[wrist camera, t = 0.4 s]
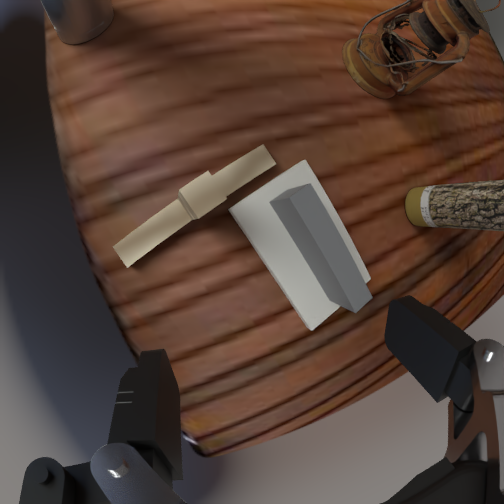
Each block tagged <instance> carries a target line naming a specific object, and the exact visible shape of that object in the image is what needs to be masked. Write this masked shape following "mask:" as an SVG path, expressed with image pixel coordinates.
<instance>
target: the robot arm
mask: <svg viewBox="0 0 504 504" xmlns="http://www.w3.org/2000/svg"><path fill="white" fill-rule="evenodd" d="M41 2H42V4H43V6H44V8H45V10H46V12H47V14H48V16H49V18H50V20H51V22H52V24H53V26H54V28H55V30H56V32H57V34H58V36H59V38H60V39H61V41H63V42H64V43H67V44H79V43H83V42H86V41H89V40H91V39H93V38H95V37H96V36H98V35H99V34H101V33H102V32H103V31H104V30H105V29H106V28H107V27H108V26H109V25H110V23H111V22H112V19H113V16H114V12H113V7H112V2H111V0H41ZM385 342H386V345H387V347H388V349H389V350H390V351H391V352H392V353H393V354H394V356H395V357H396V358H397V359H398V360H399V361H400V362H401V363H402V364H403V365H404V366H405V367H406V369H407V370H408V371H409V372H410V373H411V374H412V375H413V376H414V377H415V378H416V379H417V381H418V382H419V383H420V384H421V385H422V386H423V387H424V388H425V390H426V391H427V392H428V393H429V394H430V395H431V396H432V397H433V399H434V400H435V401H436V402H437V403H438V402H440V401H441V400H443V399H445V398H446V397H448V396H449V397H450V398H451V400H450V402H449V405H448V447H447V451H446V453H445V456H444V458H443V459H442V460H441V461H439V462H438V463H436V464H435V465H433V466H431V467H430V468H428V469H427V470H425V471H423V472H422V473H420V474H418V475H417V476H416V477H415V478H413V479H412V480H411V481H410V482H409V483H408V484H407V485H406V486H404V487H403V488H402V489H401V490H400V491H399V492H397V493H396V494H395V495H394V496H393V497H391V498H390V499H389V500H388V501H386V502H384V503H381V504H504V346H503V345H502V344H500V343H499V342H497V341H495V340H492V339H481V340H479V341H477V342H476V341H475V340H474V339H472V338H471V337H470V336H468V335H467V334H466V333H465V332H464V331H462V330H461V329H460V328H459V327H457V326H456V325H455V324H453V323H450V321H449V320H448V319H447V318H445V317H443V315H442V314H440V313H439V312H438V311H436V310H435V309H433V308H431V307H428V306H426V305H423V304H422V303H420V302H419V301H418V300H416V299H415V298H414V297H412V296H410V295H408V296H404V297H401V298H398V299H395V300H392V301H391V302H390V305H389V310H388V317H387V323H386V329H385ZM172 480H183V471H182V453H181V425H180V394H179V388H178V384H177V381H176V378H175V376H174V373H173V370H172V368H171V365H170V362H169V359H168V356H167V354H166V351H165V350H164V349H158V350H150V351H142V352H141V354H140V359H139V364H138V367H135V368H129V369H128V371H127V372H126V373H125V374H124V376H123V377H122V378H121V380H120V385H119V389H118V394H117V398H116V404H115V407H114V412H113V417H112V422H111V428H110V433H109V439H108V444H107V445H105V446H103V447H101V448H100V449H99V450H98V451H96V453H95V454H94V456H93V457H92V460H91V461H90V462H87V463H82V464H78V465H73V466H67V467H62V465H60V464H59V463H58V462H57V461H56V460H54V459H52V458H48V457H42V458H38V459H36V460H34V461H33V462H32V463H30V465H29V466H28V467H27V469H26V472H25V476H24V480H23V485H22V491H21V495H20V501H19V504H187V503H186V502H185V501H183V499H181V498H180V497H179V496H178V495H177V494H176V493H175V492H174V491H173V487H172Z"/></svg>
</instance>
